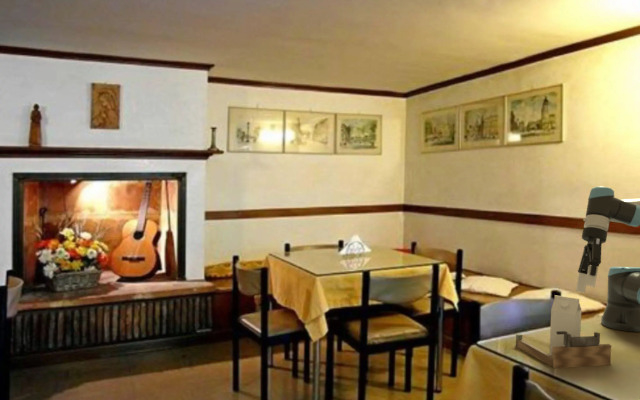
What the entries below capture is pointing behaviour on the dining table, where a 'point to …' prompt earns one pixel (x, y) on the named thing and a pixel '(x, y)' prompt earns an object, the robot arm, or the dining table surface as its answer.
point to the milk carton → (564, 319)
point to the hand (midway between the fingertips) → (584, 288)
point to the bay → (571, 351)
